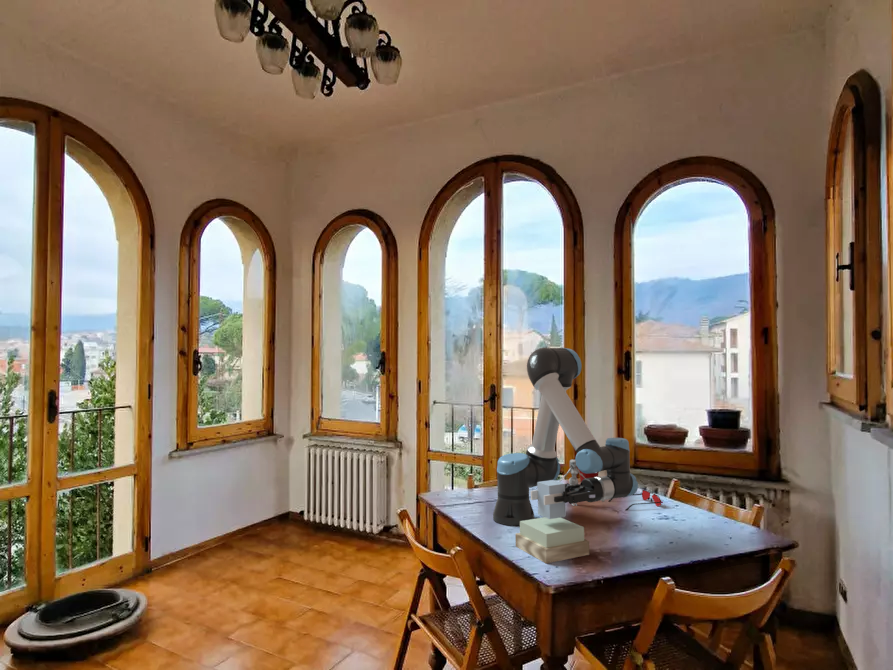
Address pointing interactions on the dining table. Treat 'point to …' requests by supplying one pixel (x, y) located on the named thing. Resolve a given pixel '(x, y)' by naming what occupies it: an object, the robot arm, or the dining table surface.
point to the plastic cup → (588, 475)
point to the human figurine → (573, 474)
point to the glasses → (647, 498)
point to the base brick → (552, 549)
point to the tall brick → (551, 509)
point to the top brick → (551, 531)
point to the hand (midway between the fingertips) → (537, 497)
